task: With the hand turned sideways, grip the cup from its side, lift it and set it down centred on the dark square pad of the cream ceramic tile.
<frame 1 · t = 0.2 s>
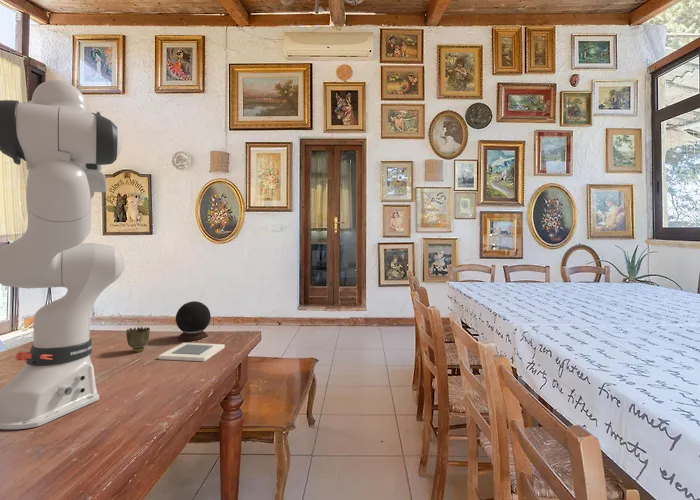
hand: (70, 203, 122), 51 cm above the table, tool tilted 15°, fingers open, 8 cm apart
cup: (138, 351, 132), on the table
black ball: (193, 338, 151), on the table
tile plinth: (193, 353, 131), on the table
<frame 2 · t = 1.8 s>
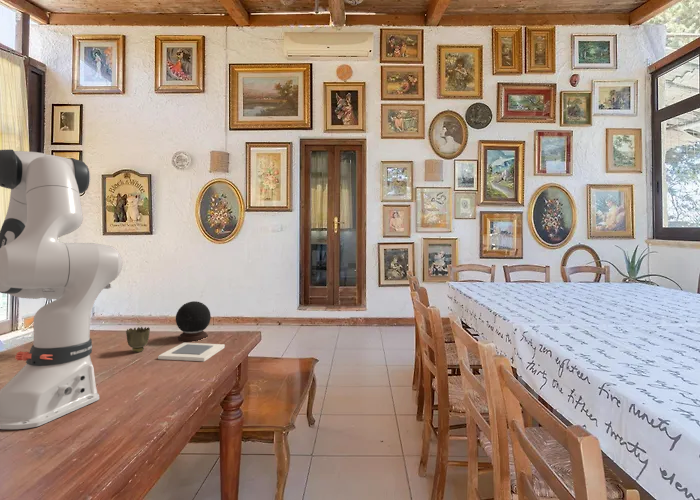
hand: (102, 287, 130), 23 cm above the table, tool horizontal, fingers open, 8 cm apart
nothing on the table moved.
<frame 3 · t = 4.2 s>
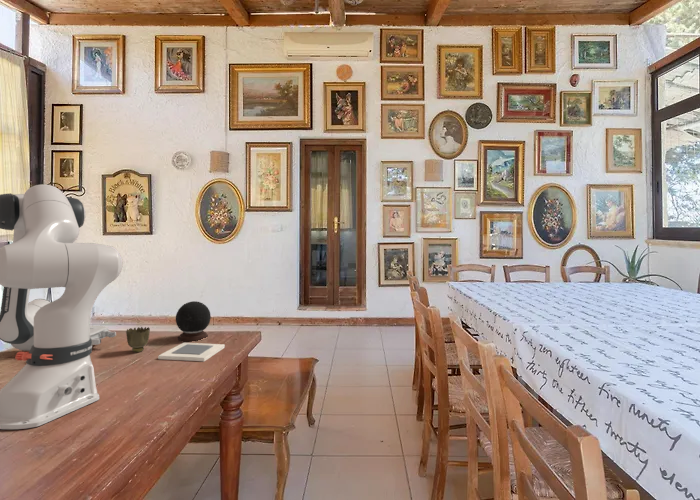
hand: (107, 337, 130), 5 cm above the table, tool horizontal, fingers open, 8 cm apart
nothing on the table moved.
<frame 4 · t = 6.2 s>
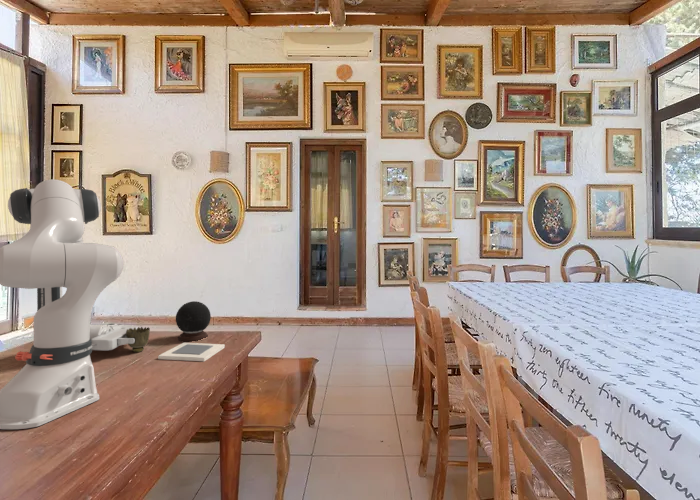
hand: (140, 337, 132), 5 cm above the table, tool horizontal, fingers closed on cup, 7 cm apart
cup: (138, 351, 132), on the table, touching gripper
everything else where it was.
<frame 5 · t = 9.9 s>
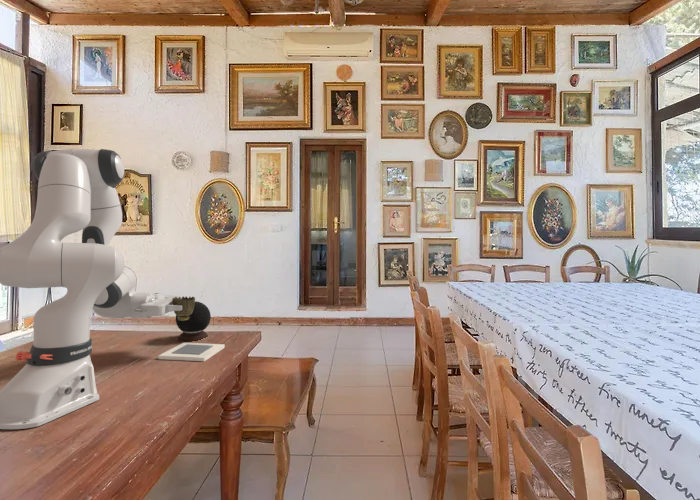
hand: (186, 305, 131), 17 cm above the table, tool horizontal, fingers closed on cup, 7 cm apart
cup: (183, 320, 131), point 12 cm above the table, touching gripper
everything else where it was.
when the fingers open (8 cm above the table, at t = 13.1 s): cup drops 1 cm, resting on tile plinth.
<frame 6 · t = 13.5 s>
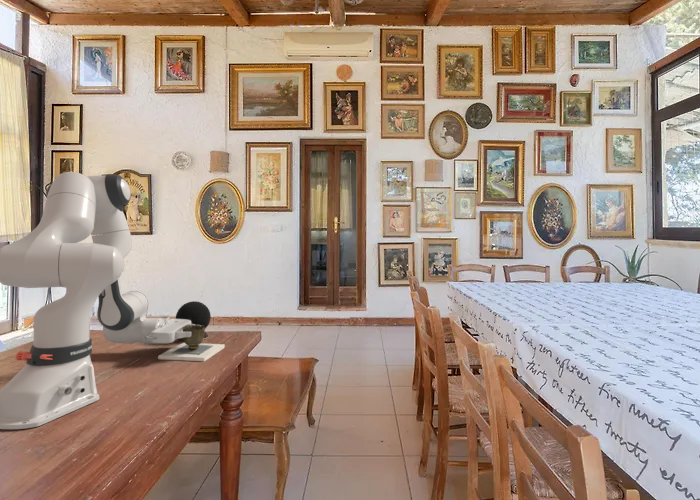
hand: (196, 330, 131), 8 cm above the table, tool horizontal, fingers open, 8 cm apart
cup: (193, 349, 130), point 1 cm above the table, touching gripper, tile plinth
everything else where it was.
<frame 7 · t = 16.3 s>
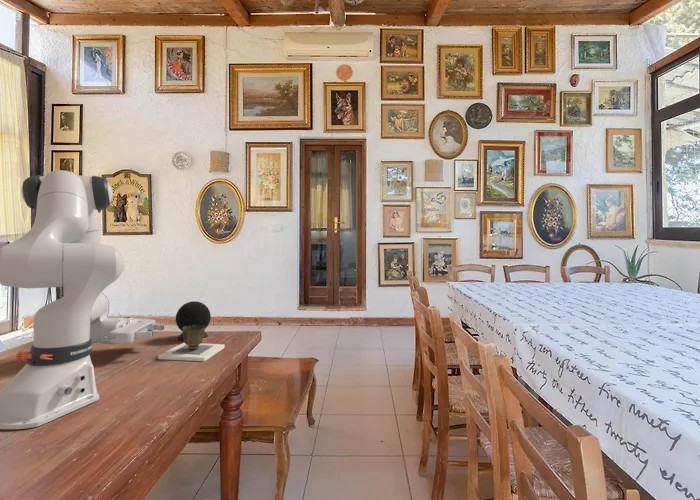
hand: (158, 330, 130), 8 cm above the table, tool horizontal, fingers open, 8 cm apart
cup: (193, 349, 130), point 1 cm above the table, touching tile plinth
everything else where it was.
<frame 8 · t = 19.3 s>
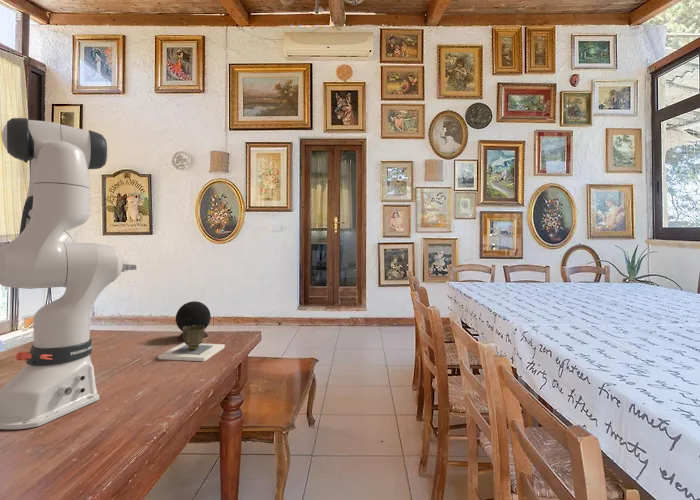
hand: (129, 268, 126), 30 cm above the table, tool horizontal, fingers open, 8 cm apart
nothing on the table moved.
at the end: cup 0.5 cm off-centre on the tile plinth, point 1.3 cm above the tile plinth's base; cup tilted 0°; the gripper is holding nothing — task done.
